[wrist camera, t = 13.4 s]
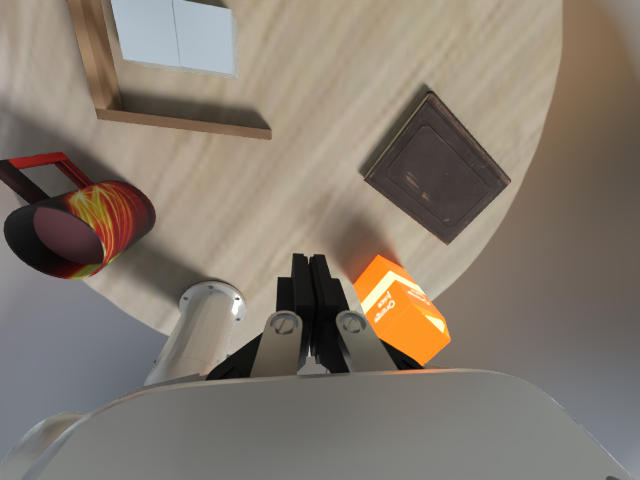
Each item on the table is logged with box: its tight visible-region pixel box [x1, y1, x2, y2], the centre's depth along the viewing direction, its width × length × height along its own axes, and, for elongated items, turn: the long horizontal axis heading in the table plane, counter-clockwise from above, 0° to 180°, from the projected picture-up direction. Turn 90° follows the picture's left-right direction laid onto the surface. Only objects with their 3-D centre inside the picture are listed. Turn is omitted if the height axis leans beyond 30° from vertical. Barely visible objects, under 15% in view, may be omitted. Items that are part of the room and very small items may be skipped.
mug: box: [0, 152, 156, 279], centre depth 31 cm, size 10×14×12 cm
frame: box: [67, 0, 272, 140], centre depth 28 cm, size 20×21×4 cm
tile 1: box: [172, 0, 239, 79], centre depth 29 cm, size 6×6×4 cm
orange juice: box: [354, 255, 450, 366], centre depth 42 cm, size 8×9×20 cm
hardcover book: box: [364, 91, 511, 246], centre depth 42 cm, size 16×23×2 cm
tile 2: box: [111, 0, 192, 73], centre depth 28 cm, size 6×6×4 cm
